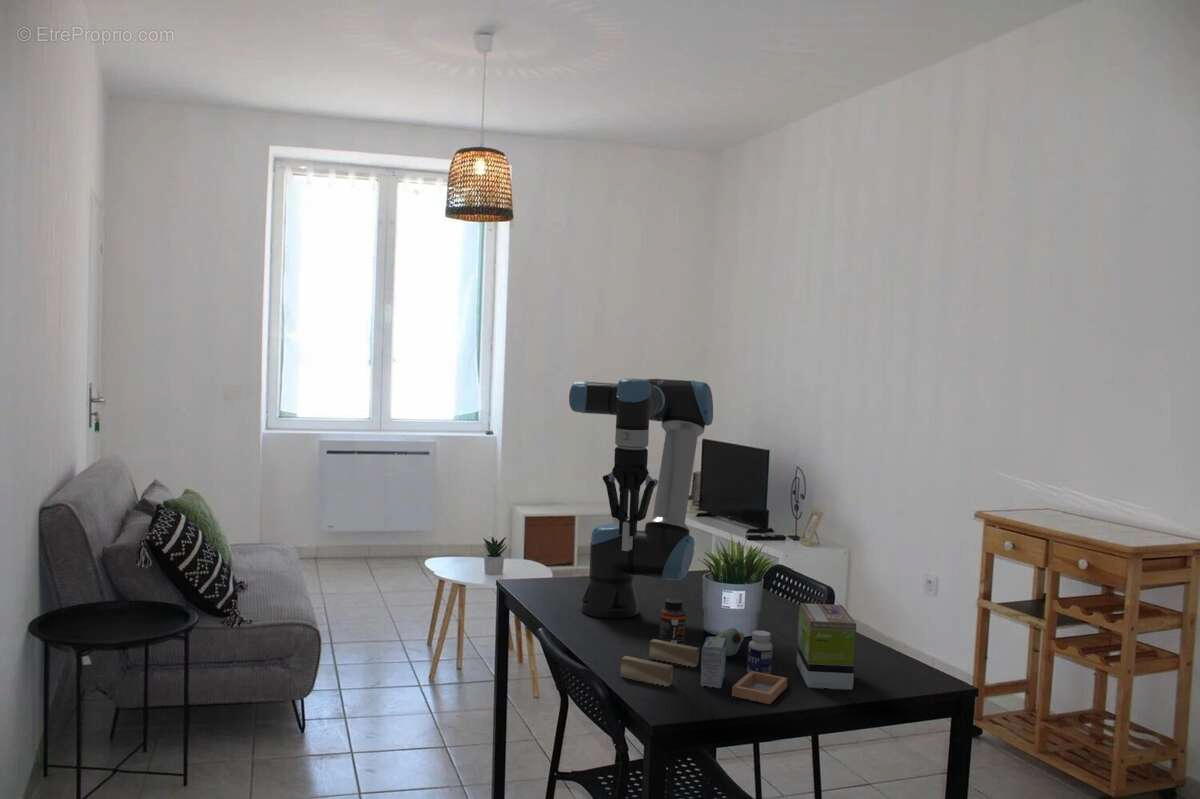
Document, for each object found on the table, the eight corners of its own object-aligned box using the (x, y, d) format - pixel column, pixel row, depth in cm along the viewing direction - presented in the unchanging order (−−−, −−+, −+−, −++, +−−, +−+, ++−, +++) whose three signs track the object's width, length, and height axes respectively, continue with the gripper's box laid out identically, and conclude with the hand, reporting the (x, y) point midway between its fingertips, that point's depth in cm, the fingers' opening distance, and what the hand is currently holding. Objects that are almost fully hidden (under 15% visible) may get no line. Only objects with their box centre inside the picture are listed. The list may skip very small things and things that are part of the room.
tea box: (794, 665, 228) (798, 601, 227) (839, 668, 227) (843, 603, 227) (806, 688, 213) (810, 619, 212) (854, 691, 212) (858, 622, 212)
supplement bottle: (680, 653, 232) (682, 605, 232) (655, 649, 234) (657, 601, 234) (686, 646, 238) (689, 599, 237) (662, 642, 240) (665, 596, 239)
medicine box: (721, 689, 209) (723, 648, 209) (699, 686, 210) (702, 645, 210) (724, 677, 217) (727, 637, 217) (704, 675, 218) (706, 635, 217)
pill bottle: (742, 670, 222) (744, 630, 222) (760, 667, 225) (762, 628, 224) (757, 677, 218) (759, 637, 217) (776, 674, 220) (778, 634, 220)
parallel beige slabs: (652, 656, 229) (653, 639, 229) (697, 665, 224) (698, 647, 224) (620, 676, 214) (621, 658, 214) (668, 687, 209) (669, 668, 209)
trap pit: (750, 679, 216) (750, 670, 216) (786, 687, 212) (787, 678, 212) (731, 696, 205) (732, 686, 205) (769, 704, 202) (770, 694, 202)
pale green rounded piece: (738, 652, 235) (740, 623, 235) (750, 657, 232) (751, 628, 232) (711, 656, 231) (713, 627, 231) (722, 661, 228) (724, 632, 227)
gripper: (598, 446, 227) (594, 549, 229) (652, 451, 222) (647, 556, 224) (611, 442, 234) (607, 542, 236) (664, 448, 229) (659, 550, 231)
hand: (627, 549), depth 230 cm, fingers closed
